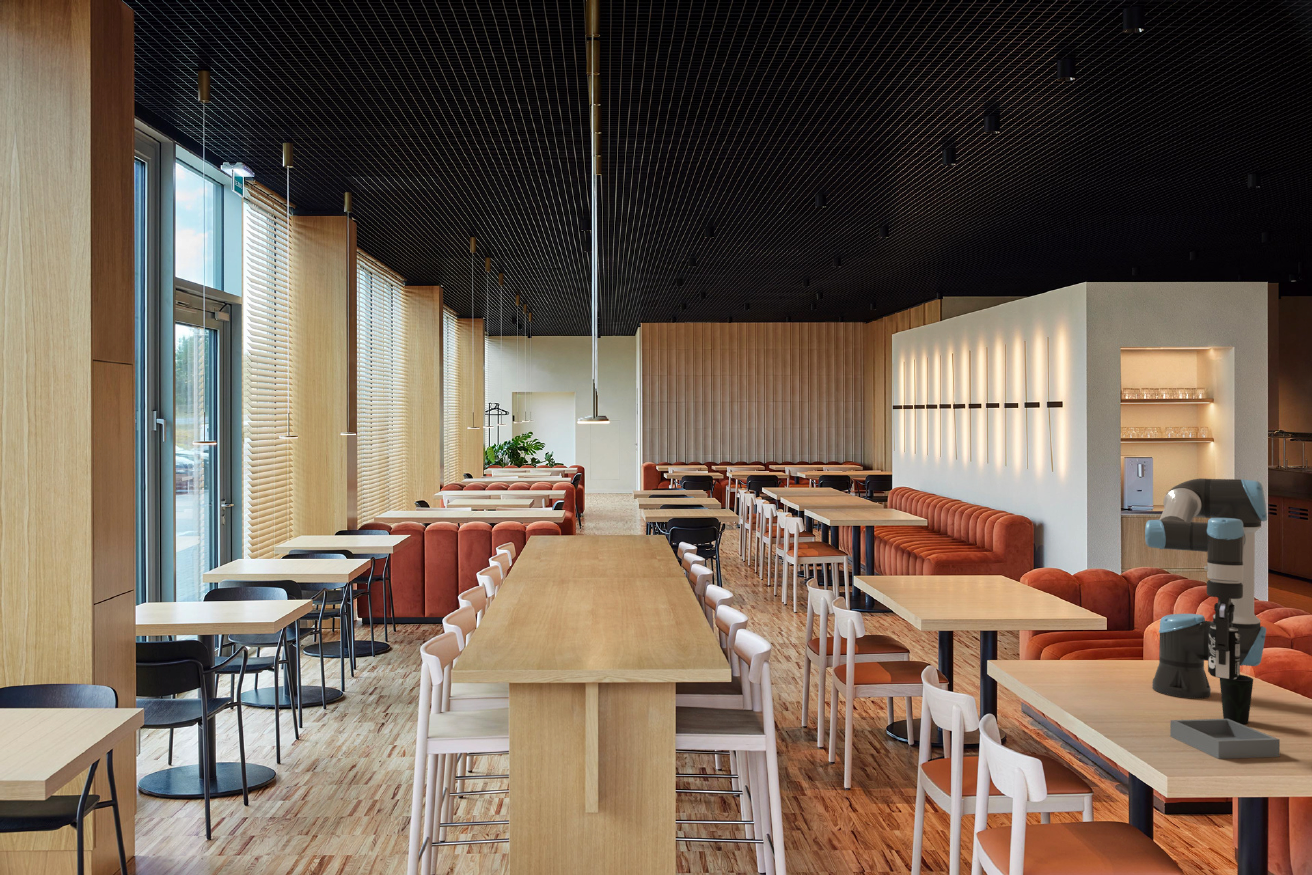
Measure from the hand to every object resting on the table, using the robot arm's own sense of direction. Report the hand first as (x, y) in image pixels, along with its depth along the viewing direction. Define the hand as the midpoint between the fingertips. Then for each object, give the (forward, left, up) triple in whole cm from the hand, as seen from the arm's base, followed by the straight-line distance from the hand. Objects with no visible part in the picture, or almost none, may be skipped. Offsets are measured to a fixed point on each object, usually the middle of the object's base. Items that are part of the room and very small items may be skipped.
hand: (1223, 674), depth 216 cm
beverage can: (0, 0, -1) cm, 1 cm away
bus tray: (0, 0, -18) cm, 18 cm away
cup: (-19, -18, -18) cm, 32 cm away
